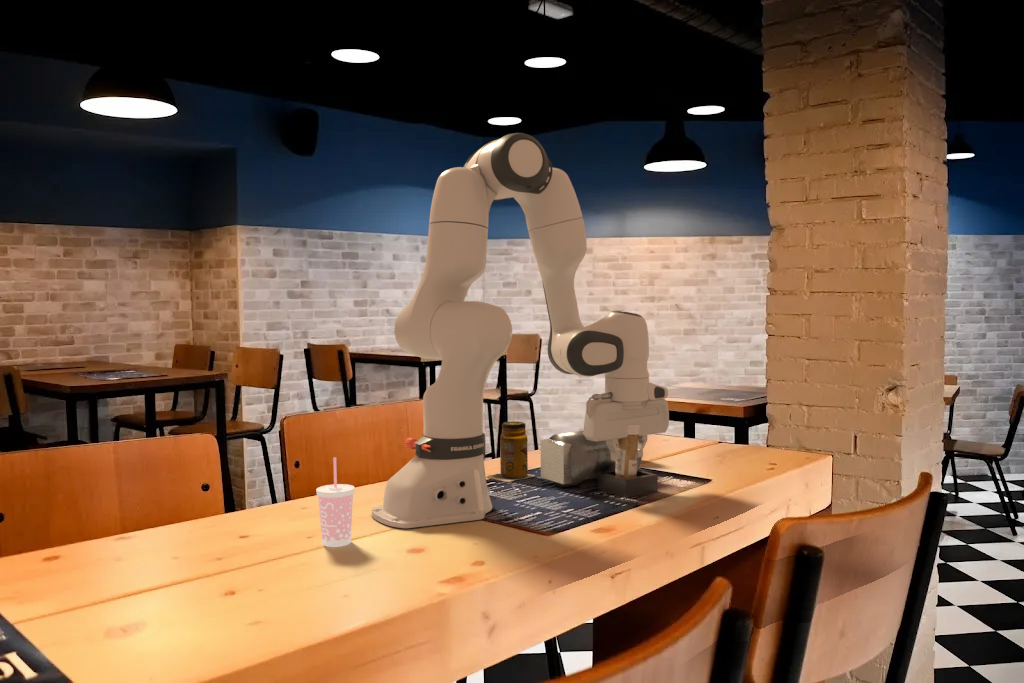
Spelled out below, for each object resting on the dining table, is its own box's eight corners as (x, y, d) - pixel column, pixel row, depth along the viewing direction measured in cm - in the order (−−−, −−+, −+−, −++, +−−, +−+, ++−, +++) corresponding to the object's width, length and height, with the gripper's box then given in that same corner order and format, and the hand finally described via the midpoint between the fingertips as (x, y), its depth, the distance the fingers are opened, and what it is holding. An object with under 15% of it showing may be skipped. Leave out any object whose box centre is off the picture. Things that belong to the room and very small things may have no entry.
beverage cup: (310, 542, 134) (308, 457, 133) (344, 535, 138) (342, 452, 137) (328, 550, 129) (326, 463, 128) (362, 543, 133) (360, 457, 132)
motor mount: (599, 502, 157) (598, 446, 157) (536, 483, 174) (536, 431, 174) (684, 486, 170) (684, 433, 169) (618, 469, 187) (618, 421, 187)
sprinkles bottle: (638, 492, 164) (642, 426, 164) (616, 491, 164) (619, 425, 163) (633, 487, 169) (637, 422, 168) (611, 486, 169) (615, 421, 168)
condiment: (536, 476, 181) (535, 422, 181) (508, 482, 175) (507, 427, 175) (513, 471, 187) (512, 419, 186) (485, 477, 181) (484, 423, 180)
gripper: (597, 396, 157) (597, 467, 158) (674, 389, 169) (673, 455, 169) (576, 393, 163) (577, 462, 163) (652, 386, 174) (652, 450, 175)
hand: (626, 458), depth 166 cm, fingers closed on sprinkles bottle, 4 cm apart
